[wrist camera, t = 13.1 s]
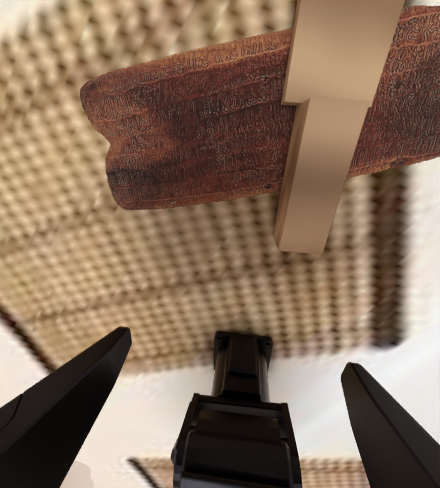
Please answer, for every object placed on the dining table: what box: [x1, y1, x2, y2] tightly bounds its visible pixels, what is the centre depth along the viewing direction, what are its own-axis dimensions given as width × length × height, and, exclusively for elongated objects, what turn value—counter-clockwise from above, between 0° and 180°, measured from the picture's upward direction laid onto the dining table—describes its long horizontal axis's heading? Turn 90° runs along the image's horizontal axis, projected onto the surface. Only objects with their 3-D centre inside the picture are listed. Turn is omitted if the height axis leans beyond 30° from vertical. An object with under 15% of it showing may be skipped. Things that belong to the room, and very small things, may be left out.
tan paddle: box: [273, 0, 405, 255], centre depth 13 cm, size 17×5×3 cm, turn 177°
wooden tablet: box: [80, 6, 440, 210], centre depth 15 cm, size 26×2×10 cm
